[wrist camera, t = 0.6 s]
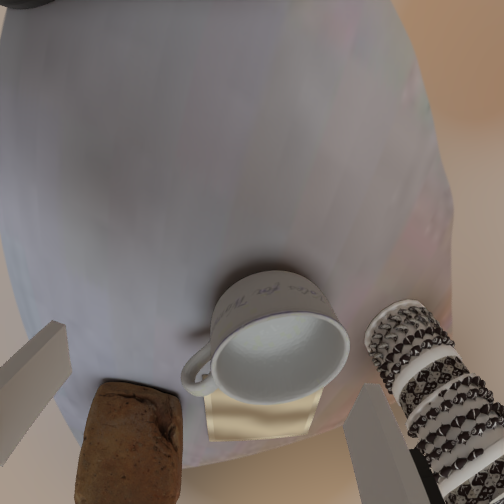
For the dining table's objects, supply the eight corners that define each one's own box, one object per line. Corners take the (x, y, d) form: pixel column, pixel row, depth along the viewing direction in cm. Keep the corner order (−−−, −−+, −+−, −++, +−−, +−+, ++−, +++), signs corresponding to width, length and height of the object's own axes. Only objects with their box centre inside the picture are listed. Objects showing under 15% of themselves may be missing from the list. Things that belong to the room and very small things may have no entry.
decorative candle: (364, 367, 35) (440, 544, 13) (356, 315, 31) (465, 537, 9) (426, 339, 35) (520, 493, 13) (429, 284, 30) (562, 462, 8)
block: (104, 406, 35) (81, 540, 17) (96, 372, 31) (59, 528, 14) (183, 418, 37) (183, 558, 19) (186, 386, 33) (184, 552, 16)
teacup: (317, 241, 27) (351, 295, 19) (326, 332, 32) (351, 390, 25) (160, 280, 27) (144, 343, 20) (198, 362, 32) (197, 424, 25)
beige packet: (202, 374, 33) (202, 383, 31) (324, 367, 34) (327, 375, 33) (209, 434, 39) (209, 442, 38) (305, 428, 40) (306, 435, 39)
